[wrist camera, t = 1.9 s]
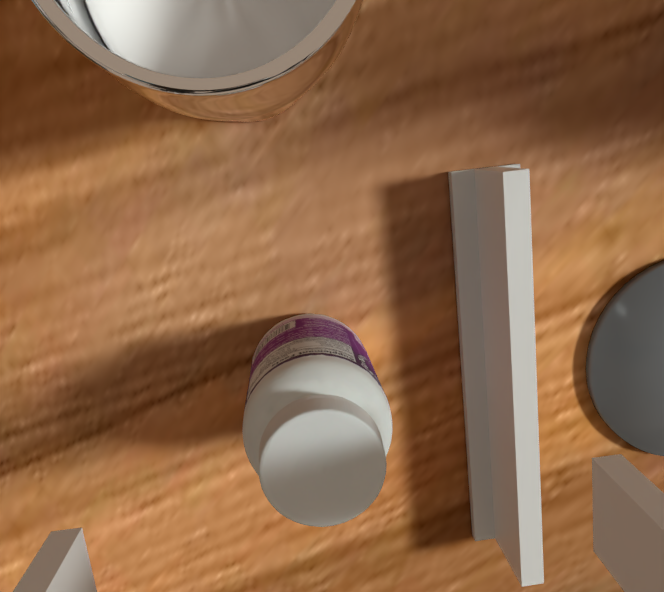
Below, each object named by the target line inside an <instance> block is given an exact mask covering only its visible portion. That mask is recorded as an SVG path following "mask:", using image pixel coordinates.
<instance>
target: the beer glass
mask: <svg viewBox="0 0 664 592" xmlns="http://www.w3.org/2000/svg"><path fill="white" fill-rule="evenodd" d="M31 1H32V3H33V4H34V6H35V7H36V8H37V10H38V11H39V12H40V14H41V15H42V16H43V17H44V19H45V20H46V21H47V22H48V23H49V24H50V26H51V27H52V28H53V29H54V30H55V31H56V32H57V33H58V34H59V35H60V36H61V37H62V38H63V39H64V40H65V41H66V42H67V43H68V44H70V45H71V46H72V47H73V48H74V49H75V50H77V51H78V52H79V53H80V54H82V55H83V56H84V57H86V58H87V59H88V60H90V61H91V62H93V63H94V64H96V65H97V66H99V67H101V68H102V69H103V70H104V71H106V72H107V73H108V74H109V75H111V76H112V77H113V78H115V79H116V80H117V81H118V82H120V83H121V84H122V85H124V86H125V87H127V88H128V89H130V90H131V91H133V92H135V93H136V94H138V95H140V96H142V97H143V98H145V99H147V100H149V101H151V102H153V103H154V104H157V105H159V106H161V107H163V108H165V109H167V110H170V111H173V112H176V113H179V114H182V115H185V116H189V117H194V118H200V119H206V120H213V121H236V122H256V121H262V120H266V119H269V118H272V117H274V116H277V115H279V114H280V113H282V112H284V111H285V110H287V109H288V108H290V107H291V106H292V105H293V104H294V103H295V102H297V100H298V99H299V98H300V97H301V96H303V95H304V94H305V93H307V92H308V91H309V90H310V89H311V88H312V87H313V86H314V85H315V84H316V83H317V82H318V81H319V80H320V79H321V78H322V77H323V76H324V74H325V73H326V72H327V71H328V70H329V69H330V67H331V66H332V65H333V63H334V62H335V61H336V59H337V58H338V56H339V55H340V53H341V51H342V50H343V48H344V46H345V44H346V42H347V40H348V38H349V36H350V34H351V32H352V29H353V27H354V24H355V22H356V19H357V17H358V14H359V11H360V9H361V5H362V2H363V0H31Z"/></svg>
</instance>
